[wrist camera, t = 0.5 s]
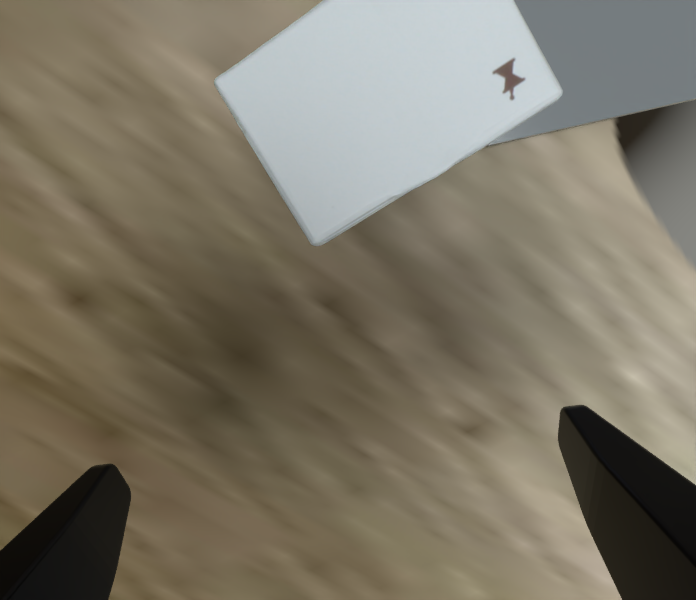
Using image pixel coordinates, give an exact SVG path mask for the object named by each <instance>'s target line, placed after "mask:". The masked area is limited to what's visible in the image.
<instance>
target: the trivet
mask: <svg viewBox="0 0 696 600" xmlns="http://www.w3.org/2000/svg"><path fill="white" fill-rule="evenodd" d="M514 1H515V3H516V5H517V7H518V9H519V10H520V12H521V14H522V16H523V18H524V20H525V22H526V23H527V25H528V27H529V29H530V31H531V33H532V34H533V36H534V38H535V40H536V42H537V44H538V46H539V47H540V49H541V51H542V53H543V55H544V56H545V58H546V60H547V62H548V64H549V66H550V67H551V69H552V71H553V73H554V75H555V77H556V78H557V80H558V82H559V84H560V86H561V88H562V90H563V93H562V96H561V97H560V98H559V100H558V101H556V102H555V103H553V104H552V105H550V106H549V107H547V108H546V109H544V110H542V111H541V112H539V113H538V114H536V115H535V116H533V117H532V118H530V119H528V120H527V121H525V122H524V123H522V124H520V125H519V126H517V127H516V128H514V129H512V130H511V131H509V132H508V133H506V134H504V135H503V136H501V137H499V138H498V139H496V140H495V141H493V142H492V143H490V144H488V145H487V146H491V145H496V144H500V143H505V142H509V141H514V140H518V139H522V138H527V137H531V136H536V135H540V134H545V133H549V132H554V131H558V130H562V129H567V128H571V127H576V126H580V125H585V124H589V123H594V122H598V121H602V120H607V119H611V118H616V117H620V116H625V115H629V114H634V113H638V112H642V111H647V110H651V109H656V108H660V107H665V106H669V105H674V104H678V103H682V102H687V101H691V100H696V0H514ZM487 146H485V147H487Z"/></svg>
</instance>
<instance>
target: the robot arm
mask: <svg viewBox="0 0 696 600" xmlns="http://www.w3.org/2000/svg"><path fill="white" fill-rule="evenodd" d="M558 442H559V447H560V450H561V453H562V456H563V459H564V462H565V464H566V467H567V470H568V473H569V476H570V479H571V482H572V484H573V487H574V490H575V493H576V496H577V499H578V502H579V504H580V507H581V510H582V513H583V516H584V518H585V521H586V524H587V526H588V528H589V530H590V533H591V535H592V537H593V539H594V541H595V543H596V546H597V548H598V550H599V552H600V554H601V556H602V558H603V560H604V562H605V564H606V566H607V569H608V571H609V573H610V575H611V577H612V579H613V581H614V583H615V585H616V587H617V590H618V592H619V594H620V596H621V598H622V600H696V485H695V484H693V483H692V482H691V481H689V480H688V479H686V478H685V477H684V476H682V475H681V474H680V473H678V472H677V471H675V470H674V469H673V468H671V467H670V466H668V465H667V464H666V463H664V462H663V461H662V460H660V459H659V458H657V457H656V456H655V455H653V454H652V453H650V452H649V451H648V450H646V449H645V448H644V447H642V446H641V445H639V444H638V443H637V442H635V441H634V440H633V439H631V438H630V437H628V436H627V435H626V434H624V433H623V432H621V431H620V430H619V429H617V428H616V427H615V426H613V425H612V424H610V423H609V422H608V421H606V420H605V419H603V418H602V417H601V416H599V415H598V414H597V413H595V412H594V411H592V410H591V409H590V408H588V407H587V406H584V405H575V406H567V407H563V408H562V409H561V412H560V420H559V430H558ZM130 501H131V491H130V488H129V486H128V484H127V483H126V481H125V479H124V478H123V476H122V475H121V473H120V472H119V470H118V468H117V467H116V466H115V465H113V464H103V465H95V466H93V467H91V468H90V469H88V470H87V471H86V472H85V473H84V474H83V475H82V476H81V477H80V478H79V479H77V480H76V481H75V482H74V483H73V484H72V485H71V486H70V487H69V488H68V489H67V490H66V491H64V492H63V493H62V494H61V495H60V496H59V497H58V498H57V499H56V500H55V501H54V502H53V503H51V504H50V505H49V506H48V507H47V508H46V509H45V510H44V511H43V512H42V513H41V514H40V515H38V516H37V517H36V518H35V519H34V520H33V521H32V522H31V523H30V524H29V525H28V526H27V527H25V528H24V529H23V530H22V531H21V532H20V533H19V534H18V535H17V536H16V537H15V538H14V539H12V540H11V541H10V542H9V543H8V544H7V545H6V546H5V547H4V548H3V549H2V550H1V551H0V600H108V598H109V595H110V592H111V588H112V585H113V581H114V578H115V574H116V570H117V566H118V561H119V556H120V551H121V546H122V541H123V536H124V531H125V526H126V521H127V516H128V511H129V506H130Z"/></svg>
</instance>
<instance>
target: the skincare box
mask: <svg viewBox="0 0 696 600" xmlns="http://www.w3.org/2000/svg"><path fill="white" fill-rule="evenodd" d="M214 85H215V87H216V89H217V90H218V92H219V93H220V95H221V97H222V98H223V100H224V102H225V103H226V105H227V107H228V108H229V110H230V112H231V114H232V115H233V117H234V119H235V120H236V122H237V124H238V125H239V127H240V129H241V130H242V132H243V134H244V135H245V137H246V139H247V140H248V142H249V144H250V145H251V147H252V149H253V150H254V152H255V154H256V155H257V157H258V159H259V160H260V162H261V164H262V165H263V167H264V169H265V170H266V172H267V174H268V175H269V177H270V179H271V180H272V182H273V183H274V185H275V187H276V188H277V190H278V192H279V193H280V195H281V196H282V198H283V200H284V201H285V203H286V205H287V206H288V208H289V210H290V211H291V213H292V214H293V216H294V218H295V219H296V221H297V223H298V224H299V226H300V227H301V229H302V231H303V232H304V234H305V235H306V237H307V239H308V240H309V242H310V243H311V245H314V246H320V245H323V244H325V243H327V242H329V241H330V240H332V239H333V238H335V237H337V236H338V235H340V234H342V233H343V232H345V231H346V230H348V229H350V228H351V227H353V226H355V225H356V224H358V223H359V222H361V221H363V220H364V219H366V218H367V217H369V216H371V215H372V214H374V213H376V212H377V211H379V210H380V209H382V208H384V207H385V206H387V205H388V204H390V203H392V202H393V201H395V200H397V199H398V198H400V197H402V196H403V195H405V194H407V193H408V192H410V191H412V190H413V189H415V188H417V187H419V186H421V185H423V184H425V183H427V182H429V181H430V180H432V179H434V178H436V177H437V176H439V175H440V174H442V173H444V172H445V171H447V170H448V169H449V168H451V167H452V166H454V165H455V164H457V163H459V162H460V161H462V160H464V159H466V158H467V157H469V156H471V155H472V154H474V153H476V152H477V151H479V150H480V149H482V148H484V147H485V146H487V145H488V144H490V143H492V142H493V141H495V140H496V139H498V138H499V137H501V136H503V135H504V134H506V133H508V132H509V131H511V130H512V129H514V128H516V127H517V126H519V125H520V124H522V123H524V122H525V121H527V120H528V119H530V118H532V117H533V116H535V115H536V114H538V113H539V112H541V111H542V110H544V109H546V108H547V107H549V106H550V105H552V104H553V103H555V102H556V101H558V100H559V98H560V97H561V96H562V93H563V90H562V88H561V86H560V84H559V82H558V80H557V78H556V77H555V75H554V73H553V71H552V69H551V67H550V66H549V64H548V62H547V60H546V58H545V56H544V55H543V53H542V51H541V49H540V47H539V46H538V44H537V42H536V40H535V38H534V36H533V34H532V33H531V31H530V29H529V27H528V25H527V23H526V22H525V20H524V18H523V16H522V14H521V12H520V10H519V9H518V7H517V5H516V3H515V1H514V0H323V1H322V2H320V3H319V4H318V5H316V6H315V7H314V8H312V9H311V10H310V11H308V12H307V13H306V14H304V15H303V16H302V17H300V18H299V19H298V20H296V21H295V22H294V23H292V24H291V25H290V26H288V27H287V28H286V29H284V30H283V31H281V32H280V33H279V34H277V35H276V36H274V37H273V38H271V39H270V40H269V41H267V42H266V43H264V44H263V45H262V46H260V47H259V48H258V49H256V50H255V51H254V52H252V53H251V54H249V55H248V56H247V57H245V58H244V59H243V60H241V61H240V62H238V63H237V64H236V65H234V66H233V67H231V68H230V69H228V70H227V71H225V72H224V73H222V74H221V75H219V76H218V77H217V78H216V79H215V80H214Z"/></svg>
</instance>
